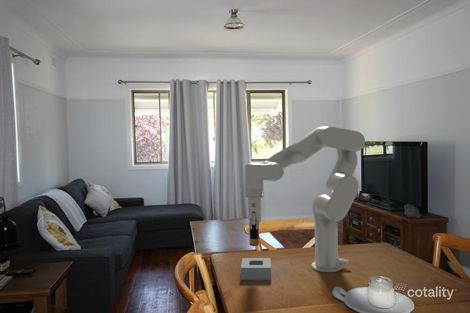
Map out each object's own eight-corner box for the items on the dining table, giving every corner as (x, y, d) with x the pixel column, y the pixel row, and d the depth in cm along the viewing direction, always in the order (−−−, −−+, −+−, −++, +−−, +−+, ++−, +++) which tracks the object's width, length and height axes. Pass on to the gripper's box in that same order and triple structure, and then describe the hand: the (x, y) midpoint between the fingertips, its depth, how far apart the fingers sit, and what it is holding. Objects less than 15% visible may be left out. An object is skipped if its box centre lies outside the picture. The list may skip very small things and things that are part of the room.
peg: (259, 243, 160) (259, 219, 159) (258, 246, 156) (258, 221, 155) (249, 243, 160) (249, 219, 160) (249, 246, 156) (249, 221, 156)
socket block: (270, 269, 164) (270, 258, 164) (271, 280, 152) (270, 267, 152) (242, 269, 165) (242, 258, 165) (241, 280, 153) (240, 267, 153)
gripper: (263, 196, 148) (263, 243, 149) (263, 190, 165) (263, 232, 166) (243, 196, 149) (244, 242, 150) (246, 190, 166) (246, 232, 167)
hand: (254, 236), depth 158 cm, fingers closed on peg, 4 cm apart
